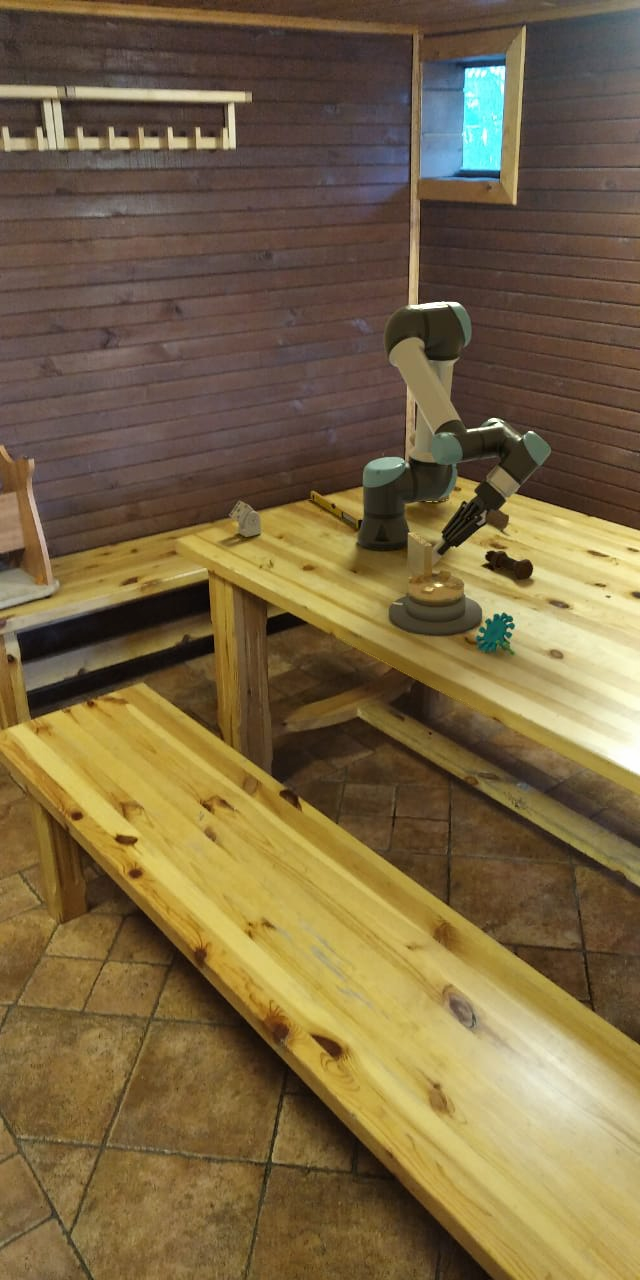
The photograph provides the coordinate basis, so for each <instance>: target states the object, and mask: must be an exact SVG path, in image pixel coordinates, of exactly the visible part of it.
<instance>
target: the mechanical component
mask: <svg viewBox="0 0 640 1280" xmlns="http://www.w3.org/2000/svg"><path fill="white" fill-rule="evenodd" d="M228 516H229V517H230V518H232V519H233V520H234V521H236V522H237V523H238V527H237V534H240V535H241V536H243V537H244V538H249V537H253V536H256V535H261V534H262V523H261V516H260V513H258V512H257V511H255V509H253V508H252V507H251V505H249V504H248V503H247V502H246V503H245V502H244V501H241V500H238V501H237V502H236V504H235V506H234V507H233V508H232V510H231V512H230V513H229V514H228Z"/></svg>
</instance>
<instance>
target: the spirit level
mask: <svg viewBox="0 0 640 1280" xmlns="http://www.w3.org/2000/svg"><path fill="white" fill-rule="evenodd" d="M309 499H310V500H311V501H313V502H315V503H316V504H319V506H321V507H323V508H325V509H326V510H328V511H329V512H331V513H332V512H333V513H332V514H334V515H336V516H337V515H338V516H337V517H339V518H340V517H341V518H340V519H342V518H343V519H342V520H344V521H345V520H346V523H349V524H350V523H351V524H350V525H352V524H353V525H354V527H355V526H356V529H358V528H359V529H360V527H361V523H362V520H363V518H362V519H361V518H359V517H358V516H356V515H355V514H352V513H351V512H349V511H347V510H346V509H344V508H343V507H341V506H339V505H335V502H333V501H331V500H329V499H328V498H326V497H324V496H322V495H321V494H319V493H318V492H316V491H315V490H314V489H313V490H310V492H309ZM315 499H316V500H315ZM353 525H352V526H353Z"/></svg>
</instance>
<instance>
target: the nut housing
mask: <svg viewBox="0 0 640 1280" xmlns="http://www.w3.org/2000/svg"><path fill="white" fill-rule="evenodd" d="M388 619H389V621H390V622H391V623H392V625H394V626H395V627H396V628H398V629H400V630H402V631H404V632H408V633H411V634H416V635H421V636H430V637H432V636H433V637H442V636H443V637H444V636H455V635H459V634H463V633H467V632H469V631H471V630H473V629H475V628H476V627H477V626H479V625H480V624H481V622H482V619H483V608H482V606H481V605H480V604H479V603H478V602H477V601H475V600H473V599H471V598H469V597H468V596H466V594H465V593H464V597H463V599H462V600H461V601H460V602H458V603H456V604H453V605H449V606H441V607H433V606H425V605H420V604H417V603H415V602H413V601H411V600H410V599H409V597H408V592H406V594H405V595H404V596H401V597H400V598H397V599H396V600H394V601H393V602H391V604H390V605H389V607H388Z"/></svg>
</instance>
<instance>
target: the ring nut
mask: <svg viewBox="0 0 640 1280" xmlns="http://www.w3.org/2000/svg"><path fill="white" fill-rule="evenodd" d="M432 548H433V544H432V543H430V542H429V541H427V540H426V539H425V538H424V537H423V536H421V535H420V534H419V533H418V532H416V531H413V532H412V531H410V533H408V546H407V573H409V574H410V576H409V577H408V578H407V579H408V581H407V586H408V587H407V593H408V597H409V599H410V600H411V601H413V602H415V603H417V604H420V605H425V606H433V607H441V606H449V605H453V604H456V603H458V602H460V601H461V600H462V599H463V597H464V594H465V582H464V581H463V580H462V578H460V577H458V576H456V575H453V574H452V572H451V571H448V570H443V569H441V570H440V571H439V572H436V573H435V572H432V567H433V566H432Z"/></svg>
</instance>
